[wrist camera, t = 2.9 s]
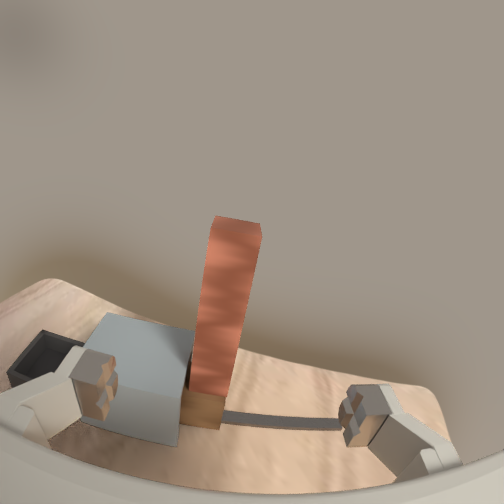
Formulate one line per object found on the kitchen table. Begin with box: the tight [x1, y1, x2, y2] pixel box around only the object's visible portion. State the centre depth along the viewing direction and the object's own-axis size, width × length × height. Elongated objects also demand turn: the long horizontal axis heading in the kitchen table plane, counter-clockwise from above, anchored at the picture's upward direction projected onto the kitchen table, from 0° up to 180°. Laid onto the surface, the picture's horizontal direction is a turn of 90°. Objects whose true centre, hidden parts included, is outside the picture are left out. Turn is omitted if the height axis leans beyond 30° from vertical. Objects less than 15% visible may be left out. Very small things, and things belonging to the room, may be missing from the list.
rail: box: [221, 410, 342, 430], centre depth 27 cm, size 26×1×1 cm, turn 91°
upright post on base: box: [179, 216, 262, 430], centre depth 23 cm, size 10×4×18 cm, turn 91°
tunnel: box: [80, 312, 195, 447], centre depth 25 cm, size 9×9×7 cm
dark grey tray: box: [7, 330, 85, 388], centre depth 25 cm, size 7×8×2 cm
